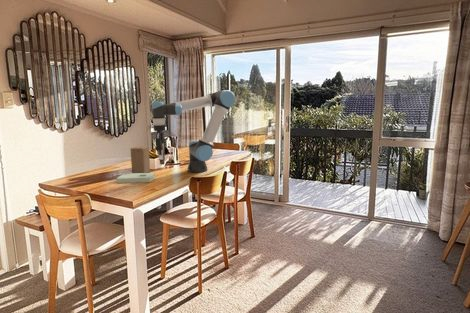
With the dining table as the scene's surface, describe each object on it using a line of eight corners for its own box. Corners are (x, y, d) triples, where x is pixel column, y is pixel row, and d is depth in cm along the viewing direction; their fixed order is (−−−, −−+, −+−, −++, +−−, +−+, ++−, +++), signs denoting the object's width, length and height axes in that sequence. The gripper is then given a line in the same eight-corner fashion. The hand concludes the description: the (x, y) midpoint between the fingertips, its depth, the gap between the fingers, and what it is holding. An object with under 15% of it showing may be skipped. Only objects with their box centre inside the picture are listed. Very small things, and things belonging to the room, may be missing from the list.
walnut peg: (165, 163, 208) (164, 143, 205) (164, 164, 204) (163, 144, 201) (159, 163, 208) (158, 143, 205) (158, 164, 203) (156, 144, 201)
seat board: (155, 177, 212) (155, 172, 211) (150, 182, 198) (149, 177, 198) (124, 177, 212) (123, 173, 211) (116, 182, 198) (116, 178, 197)
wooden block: (144, 175, 217) (142, 148, 213) (131, 175, 219) (129, 148, 215) (150, 172, 226) (149, 146, 223) (138, 171, 228) (136, 146, 225)
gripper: (156, 123, 209) (159, 156, 213) (150, 126, 192) (153, 161, 196) (167, 123, 209) (169, 156, 213) (162, 125, 192) (164, 161, 197)
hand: (161, 158), depth 205 cm, fingers closed on walnut peg, 4 cm apart
